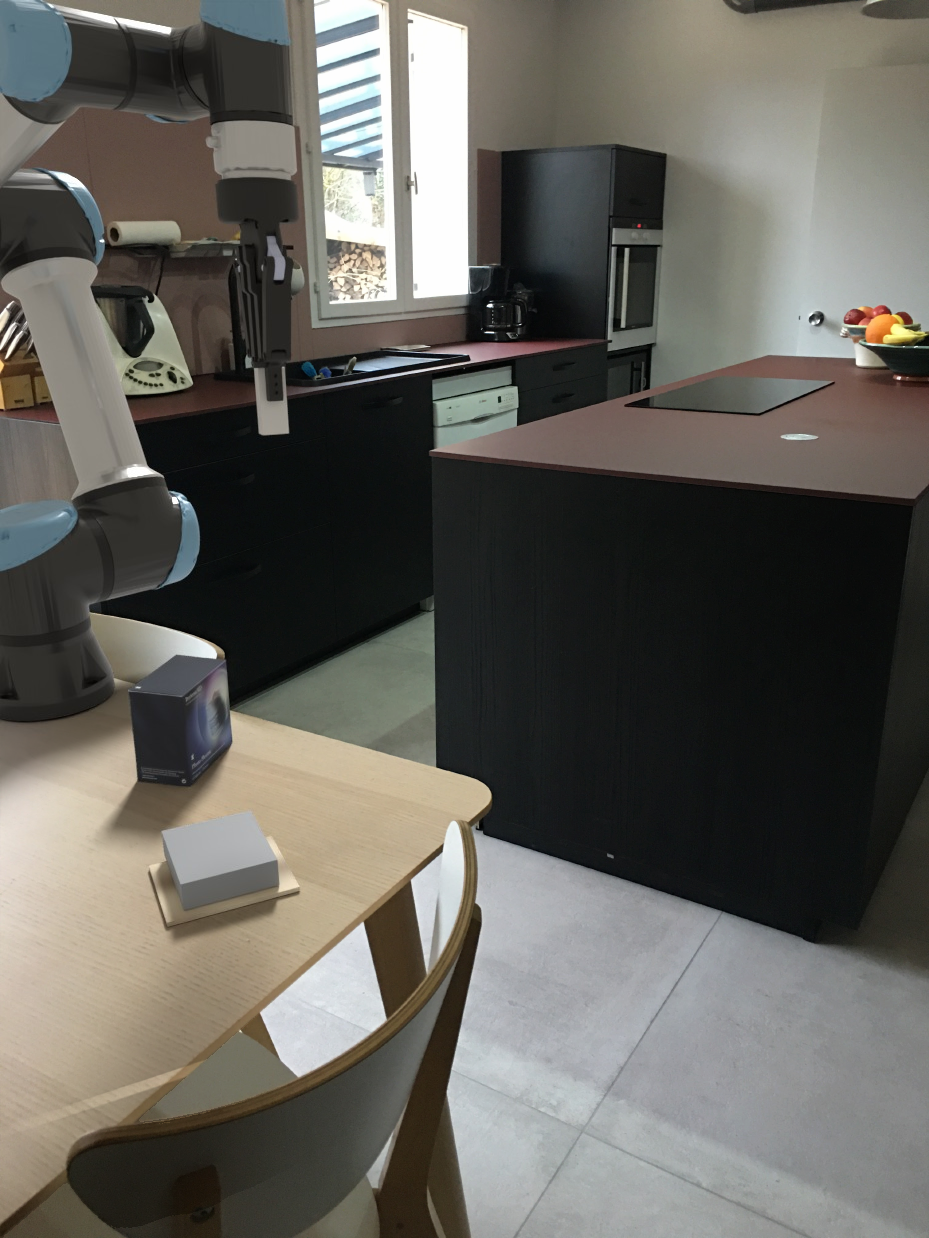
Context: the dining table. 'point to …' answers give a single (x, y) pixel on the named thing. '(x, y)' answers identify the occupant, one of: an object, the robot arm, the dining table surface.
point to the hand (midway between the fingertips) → (273, 433)
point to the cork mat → (178, 915)
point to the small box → (180, 720)
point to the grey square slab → (219, 859)
